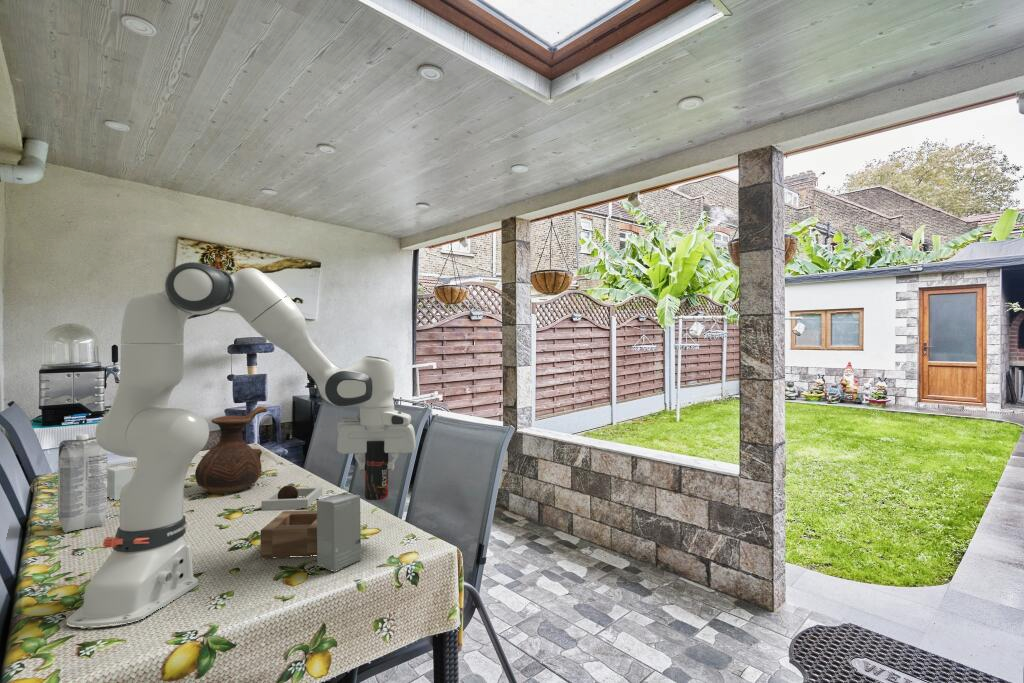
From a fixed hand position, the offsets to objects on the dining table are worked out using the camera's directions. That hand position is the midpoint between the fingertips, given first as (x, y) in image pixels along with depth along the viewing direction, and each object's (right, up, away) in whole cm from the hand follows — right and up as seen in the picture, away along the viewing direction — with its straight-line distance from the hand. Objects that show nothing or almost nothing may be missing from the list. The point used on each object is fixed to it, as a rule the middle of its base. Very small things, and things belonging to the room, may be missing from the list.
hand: (376, 469), depth 127 cm
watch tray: (-38, -21, +35) cm, 56 cm away
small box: (-104, -22, +44) cm, 115 cm away
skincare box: (-6, -20, -12) cm, 24 cm away
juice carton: (-91, -21, +14) cm, 94 cm away
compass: (-40, -21, +33) cm, 56 cm away
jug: (-70, -22, +52) cm, 89 cm away
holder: (-20, -20, -2) cm, 28 cm away
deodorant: (0, -7, 0) cm, 7 cm away
